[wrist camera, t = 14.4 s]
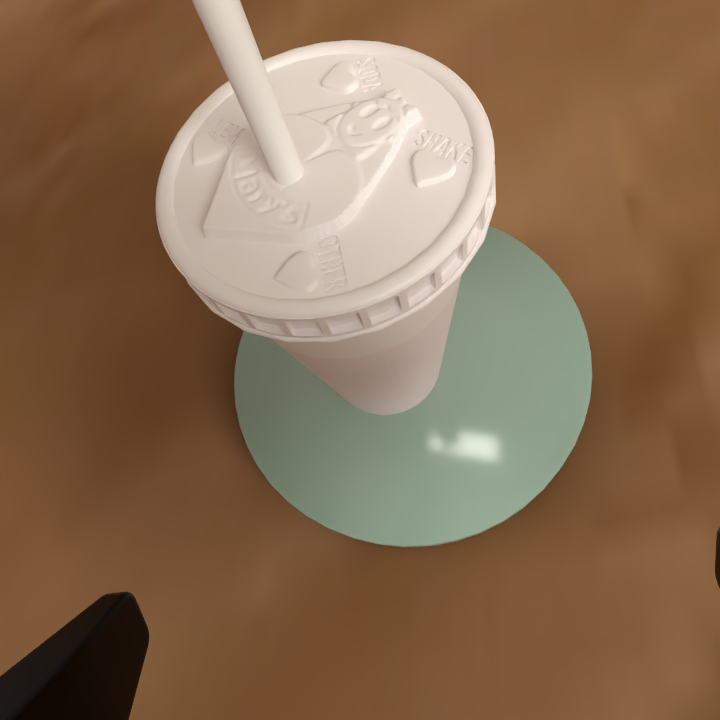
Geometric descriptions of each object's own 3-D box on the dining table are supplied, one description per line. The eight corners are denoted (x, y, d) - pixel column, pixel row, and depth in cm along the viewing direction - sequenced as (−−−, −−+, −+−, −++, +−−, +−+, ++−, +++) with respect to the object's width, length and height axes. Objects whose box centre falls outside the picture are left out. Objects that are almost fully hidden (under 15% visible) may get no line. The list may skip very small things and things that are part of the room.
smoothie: (262, 346, 20) (-101, -93, 7) (408, 249, 20) (314, -324, 8) (359, 496, 17) (58, 226, 4) (524, 380, 18) (676, -161, 5)
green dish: (369, 631, 17) (362, 633, 16) (192, 351, 22) (177, 338, 21) (666, 395, 18) (679, 382, 17) (434, 180, 23) (432, 159, 22)
